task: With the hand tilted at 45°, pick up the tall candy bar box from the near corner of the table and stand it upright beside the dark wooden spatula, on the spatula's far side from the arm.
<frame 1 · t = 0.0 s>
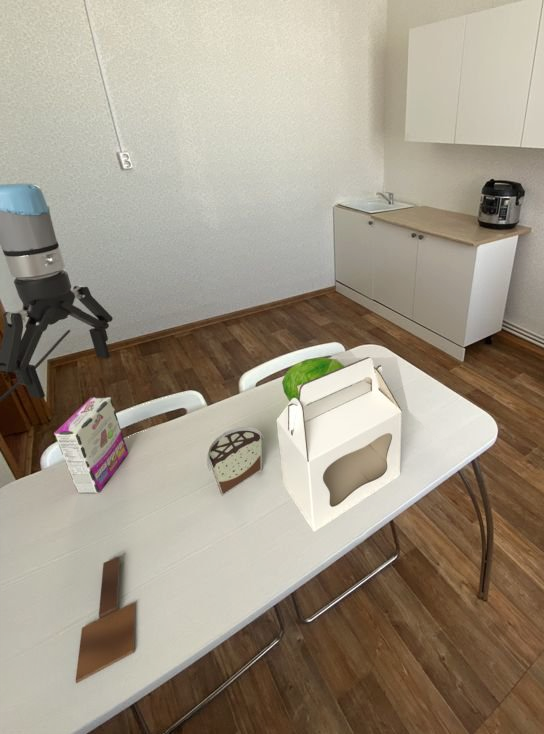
hand: (73, 375, 75), 27 cm above the table, tool pointing down, fingers open, 13 cm apart
lettuce: (319, 407, 106), on the table
candy bar box: (104, 473, 86), on the table
spatula: (110, 603, 61), on the table
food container: (236, 474, 85), on the table
gable box: (342, 481, 83), on the table
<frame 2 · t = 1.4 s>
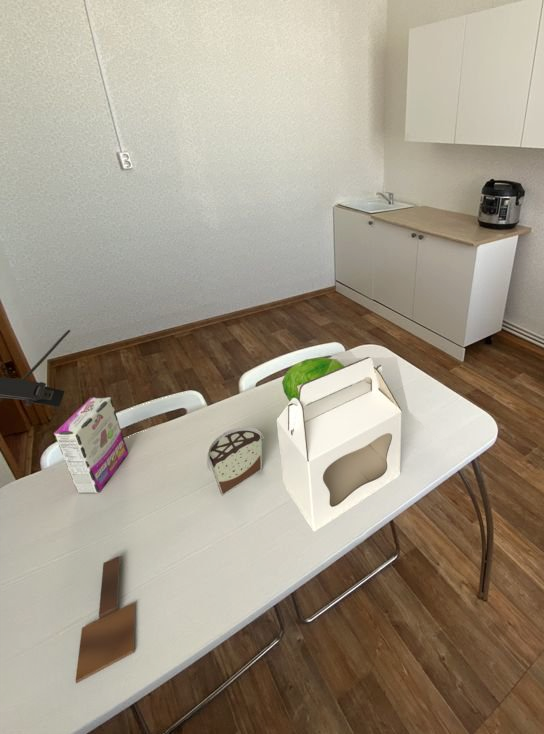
hand: (23, 398, 67), 27 cm above the table, tool tilted 45°, fingers open, 13 cm apart
nothing on the table moved.
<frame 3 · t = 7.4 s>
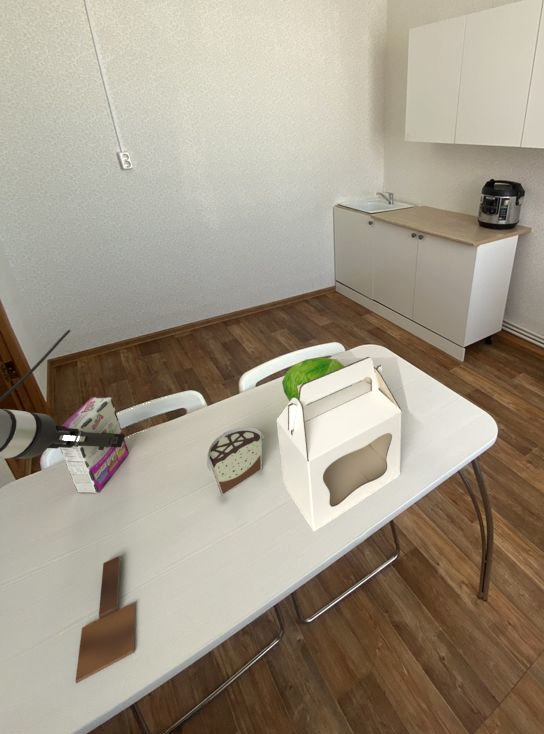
hand: (109, 439, 87), 6 cm above the table, tool tilted 45°, fingers closed on candy bar box, 5 cm apart
candy bar box: (104, 473, 86), on the table, touching gripper
everything else where it was.
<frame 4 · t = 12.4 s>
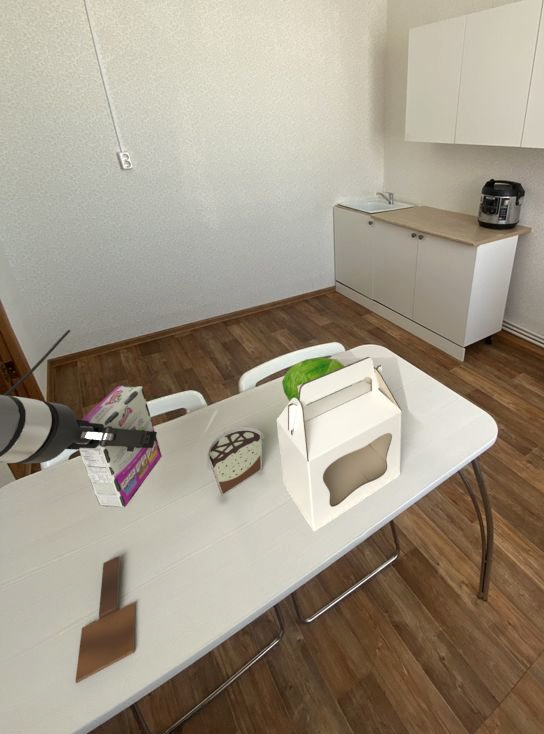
hand: (138, 438, 70), 19 cm above the table, tool tilted 45°, fingers closed on candy bar box, 5 cm apart
candy bar box: (132, 481, 69), point 12 cm above the table, touching gripper
everything else where it was.
when the fingers open (6 cm above the table, at t = 17.6 s): candy bar box stays where it is, on the table.
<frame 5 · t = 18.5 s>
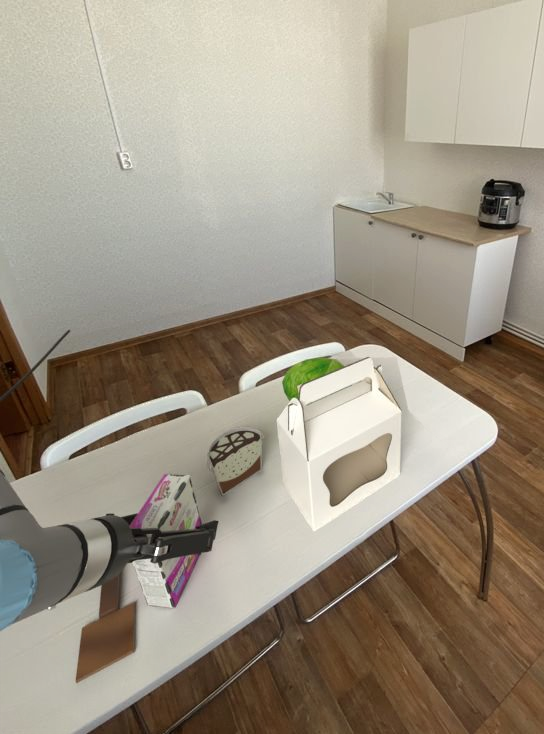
hand: (176, 525, 65), 8 cm above the table, tool tilted 45°, fingers open, 13 cm apart
candy bar box: (178, 572, 66), on the table
everything else where it was.
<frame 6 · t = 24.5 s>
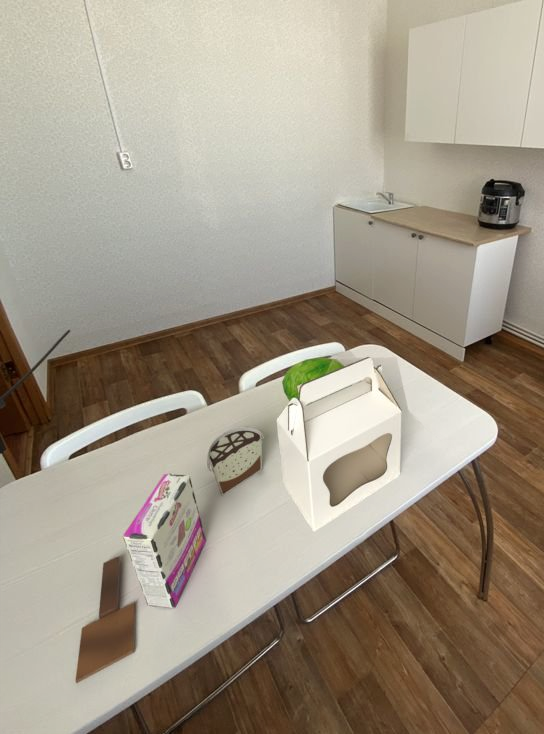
nothing on the table moved.
at the end: candy bar box inside the target area on the table beside the spatula (0.8 cm from its centre), on the table; candy bar box tilted 0°; the gripper is holding nothing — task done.
